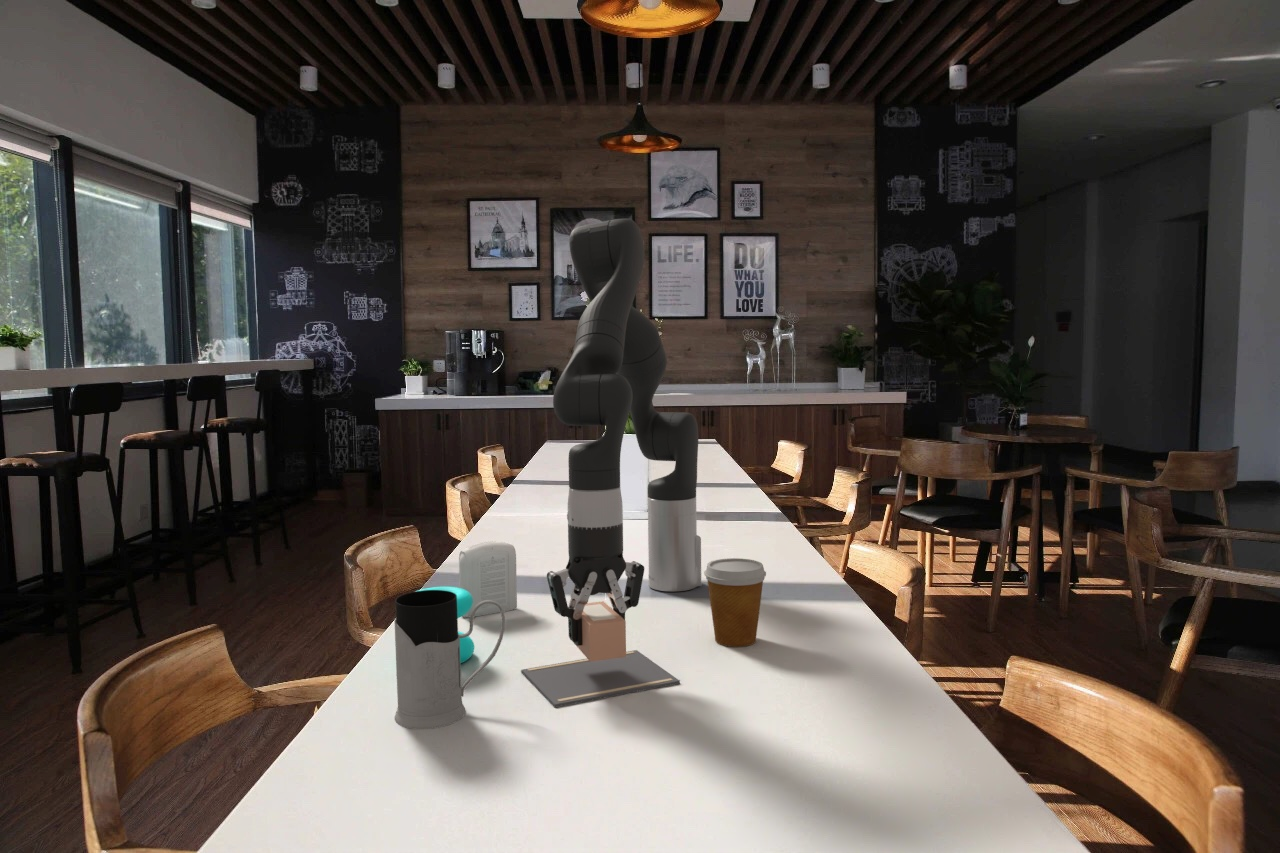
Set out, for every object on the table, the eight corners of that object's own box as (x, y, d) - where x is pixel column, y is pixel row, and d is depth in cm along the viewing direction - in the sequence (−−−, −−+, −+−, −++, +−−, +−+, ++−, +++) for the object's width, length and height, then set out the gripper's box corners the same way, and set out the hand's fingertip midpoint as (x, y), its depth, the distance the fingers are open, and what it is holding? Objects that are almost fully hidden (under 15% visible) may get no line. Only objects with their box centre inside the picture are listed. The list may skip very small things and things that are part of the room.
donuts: (428, 582, 140) (485, 587, 137) (430, 645, 141) (487, 651, 138) (389, 599, 131) (449, 605, 127) (391, 666, 132) (451, 674, 128)
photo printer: (510, 604, 163) (508, 536, 162) (521, 609, 159) (519, 540, 158) (456, 614, 157) (454, 544, 156) (466, 620, 154) (463, 548, 152)
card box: (626, 657, 122) (625, 619, 121) (590, 661, 120) (589, 624, 120) (604, 635, 131) (603, 600, 131) (570, 639, 129) (569, 604, 129)
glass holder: (390, 707, 117) (385, 593, 115) (499, 690, 122) (496, 581, 121) (399, 733, 109) (394, 611, 107) (515, 714, 114) (511, 597, 113)
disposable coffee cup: (771, 633, 144) (771, 559, 143) (759, 653, 135) (759, 574, 134) (713, 628, 147) (712, 555, 146) (697, 647, 138) (696, 570, 137)
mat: (636, 652, 136) (636, 649, 136) (679, 683, 123) (679, 679, 123) (521, 672, 128) (521, 669, 128) (554, 707, 116) (554, 703, 116)
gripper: (554, 529, 118) (557, 657, 119) (654, 519, 124) (656, 641, 125) (536, 520, 124) (539, 641, 126) (631, 511, 130) (633, 626, 132)
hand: (597, 640), depth 125 cm, fingers closed on card box, 5 cm apart
